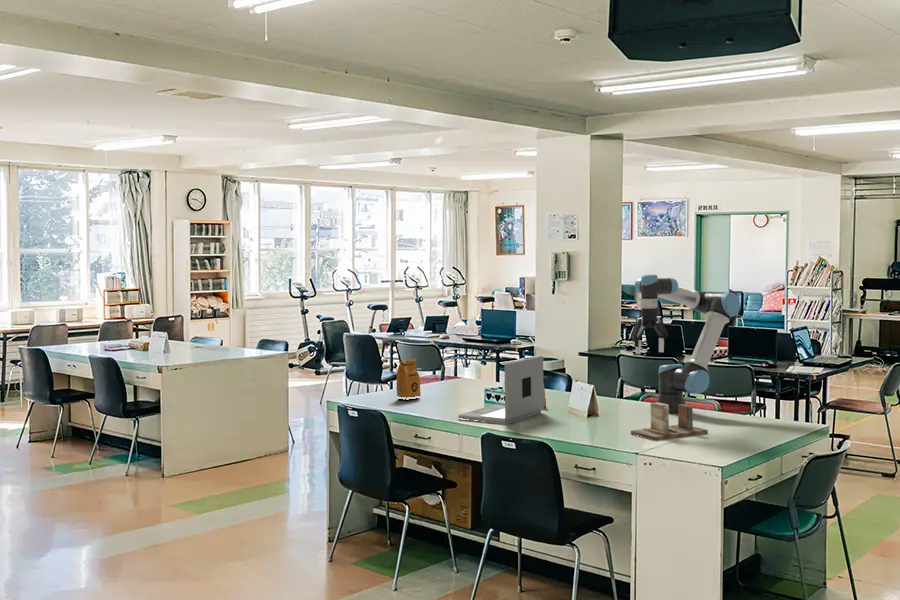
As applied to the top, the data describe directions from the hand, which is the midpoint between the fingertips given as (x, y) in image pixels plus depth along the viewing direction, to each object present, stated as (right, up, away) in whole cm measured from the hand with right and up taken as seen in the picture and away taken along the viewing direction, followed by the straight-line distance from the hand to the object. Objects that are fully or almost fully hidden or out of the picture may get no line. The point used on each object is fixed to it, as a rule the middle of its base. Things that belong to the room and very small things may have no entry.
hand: (649, 353), depth 419 cm
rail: (+2, -33, -30) cm, 45 cm away
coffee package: (-116, -30, +74) cm, 141 cm away
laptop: (-68, -33, +19) cm, 78 cm away
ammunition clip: (-48, -31, +44) cm, 72 cm away
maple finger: (-3, -32, -32) cm, 46 cm away
